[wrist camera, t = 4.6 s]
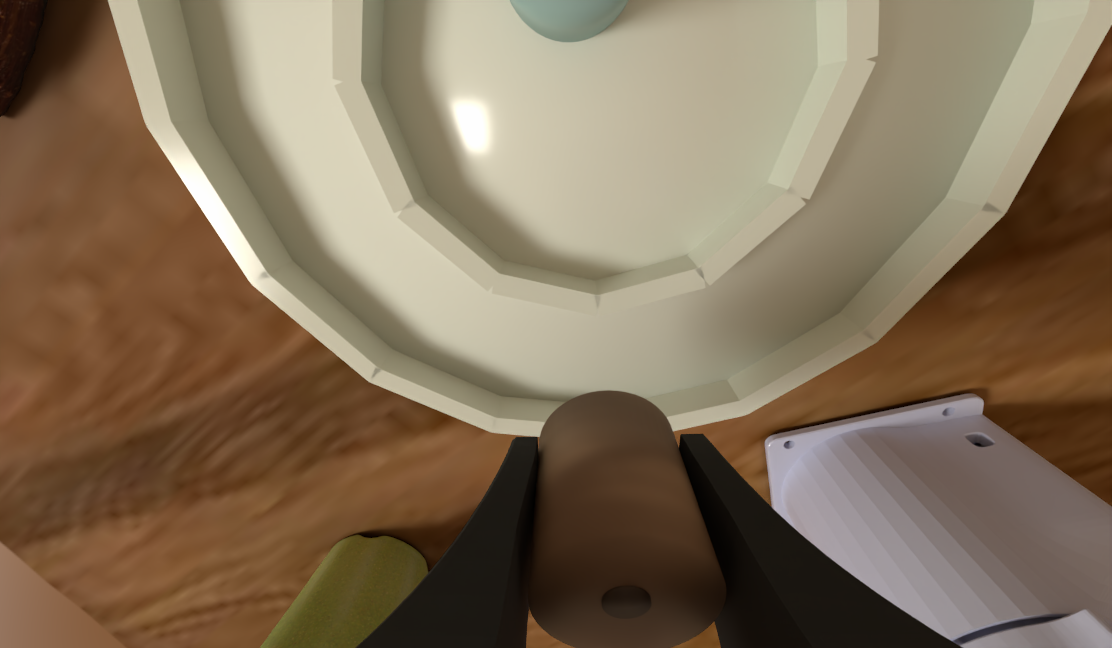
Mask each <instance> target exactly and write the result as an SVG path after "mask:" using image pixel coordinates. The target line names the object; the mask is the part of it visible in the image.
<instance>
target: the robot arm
mask: <svg viewBox="0 0 1112 648" xmlns="http://www.w3.org/2000/svg"><path fill="white" fill-rule="evenodd" d="M983 406H984V400H983V399H982V398H980V397H979V396H977V395H976V394H973V393H968V394H963V395H958V396H953V397H949V398H944V399H939V400H935V401H930V402H925V403H920V404H916V405H911V406H906V407H901V408H897V409H892V410H887V411H883V412H878V413H873V414H868V415H864V416H859V417H854V418H849V419H845V420H840V421H835V422H831V423H826V424H821V425H816V426H812V427H807V428H802V429H797V430H793V431H788V432H783V433H779V434H774V435H771V436H769V437H768V438H767V439H766V441H765V451H766V460H767V468H768V477H769V486H770V494H771V503H772V507H771V506H770V505H769V504H768V503H767V502H766V501H765V500H764V499H763V498H762V497H761V496H760V495H759V494H758V493H757V492H756V491H755V490H754V489H753V488H752V487H751V486H750V485H749V484H748V483H747V482H746V481H745V480H744V479H743V478H742V477H741V476H740V475H739V473H738V472H737V471H736V470H735V469H734V468H733V467H732V466H731V465H730V464H729V463H728V461H727V460H726V459H725V458H724V457H723V456H722V455H721V454H720V453H719V451H718V450H717V449H716V448H715V447H714V446H713V445H712V443H711V442H710V441H709V440H708V439H707V438H706V437H705V436H704V435H703V434H681V436H680V445H679V451H680V453H681V456H682V459H683V462H684V465H685V468H686V471H687V473H688V476H689V479H690V482H691V485H692V488H693V491H694V494H695V496H696V499H697V502H698V505H699V508H700V511H701V514H702V517H703V519H704V522H705V525H706V528H707V531H708V534H709V537H710V540H711V542H712V545H713V548H714V551H715V554H716V557H717V560H718V562H719V565H720V568H721V571H722V574H723V577H724V580H725V583H726V600H725V603H724V606H723V609H722V610H721V612H720V614H719V616H718V617H717V618H716V619H715V625H716V628H717V632H718V636H719V640H720V645H721V648H1112V507H1111V506H1110V505H1109V504H1107V503H1106V502H1104V501H1103V500H1102V499H1100V498H1099V497H1097V496H1096V495H1095V494H1093V493H1092V492H1090V491H1089V490H1088V489H1086V488H1085V487H1083V486H1082V485H1081V484H1079V483H1078V482H1076V481H1075V480H1074V479H1072V478H1071V477H1069V476H1068V475H1067V474H1065V473H1064V472H1062V471H1061V470H1060V469H1058V468H1057V467H1055V466H1054V465H1053V464H1051V463H1050V462H1048V461H1047V460H1046V459H1044V458H1043V457H1041V456H1040V455H1039V454H1037V453H1036V452H1034V451H1033V450H1032V449H1030V448H1029V447H1027V446H1026V445H1025V444H1023V443H1022V442H1020V441H1019V440H1018V439H1016V438H1015V437H1013V436H1012V435H1011V434H1009V433H1008V432H1006V431H1005V430H1004V429H1002V428H1001V427H999V426H998V425H996V424H995V423H994V422H992V421H991V420H989V419H988V418H987V417H985V416H984V415H982V412H983ZM787 441H789V442H788V443H785V442H787ZM538 454H539V453H538V439H537V437H516V438H515V439H514V440H512V443H511V446H510V448H509V450H508V453H507V455H506V457H505V459H504V461H503V463H502V465H501V467H500V469H499V471H498V473H497V475H496V477H495V478H494V480H493V482H492V484H491V485H490V487H489V489H488V491H487V492H486V494H485V496H484V497H483V499H482V501H481V502H480V504H479V505H478V507H477V508H476V510H475V511H474V513H473V514H472V516H471V518H470V519H469V521H468V522H467V524H466V525H465V526H464V528H463V529H462V531H461V532H460V533H459V535H458V536H457V538H456V539H455V540H454V542H453V543H452V544H451V546H450V547H449V548H448V549H447V551H446V552H445V553H444V555H443V556H442V557H441V558H440V560H439V561H438V562H437V563H436V564H435V565H434V567H433V568H432V569H431V570H430V571H429V573H428V574H427V575H426V576H425V577H424V579H423V580H422V581H421V582H420V583H419V584H418V585H417V586H416V588H415V589H414V590H413V591H412V592H411V593H410V594H409V595H408V596H407V597H406V598H405V599H404V600H403V601H402V602H401V603H400V604H399V605H398V607H397V608H396V609H395V610H394V611H393V612H392V613H391V614H390V615H389V616H388V617H387V618H386V619H385V620H384V621H383V622H382V623H381V624H380V625H379V626H378V627H377V628H376V629H375V630H374V631H373V632H372V633H371V634H370V635H369V636H367V637H366V638H365V639H364V640H363V641H362V642H361V643H360V644H359V645H358V646H356V647H355V648H526V635H527V621H528V611H529V604H528V587H529V573H530V559H531V546H532V532H533V519H534V505H535V492H536V481H537V468H538Z"/></svg>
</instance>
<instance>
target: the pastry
mask: <svg viewBox="0 0 1112 648" xmlns="http://www.w3.org/2000/svg"><path fill="white" fill-rule="evenodd" d="M47 2H48V0H0V117H1V116H2V115H3V114H5V112H6V111H7V110H8V108H9V105H10V103H11V102H12V100H13V99H14V98H15V97H16V95H17V93H18V92H19V90H20V89H21V84H22V80H23V76H24V72H25V70H26V68H27V65H28V63H29V61H30V60H31V58H32V56H33V54H34V51H35V44H36V40H37V37H38V34H39V31H40V28H41V25H42V22H43V17H44V11H45V7H46V4H47Z"/></svg>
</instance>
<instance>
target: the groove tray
mask: <svg viewBox="0 0 1112 648" xmlns="http://www.w3.org/2000/svg"><path fill="white" fill-rule="evenodd" d="M108 3H109V6H110V9H111V12H112V16H113V19H114V22H115V26H116V29H117V32H118V35H119V39H120V42H121V45H122V49H123V52H124V55H125V58H126V62H127V65H128V68H129V72H130V75H131V78H132V82H133V85H134V88H135V91H136V95H137V98H138V101H139V105H140V108H141V111H142V114H143V118H144V121H145V124H148V125H146V126H147V128H148V129H149V131H150V132H151V134H152V135H153V137H154V138H155V140H156V141H157V143H158V144H159V146H160V147H161V149H162V150H163V152H164V153H165V155H166V156H167V158H168V159H169V161H170V162H171V164H172V165H173V167H174V168H175V170H176V171H177V173H178V174H179V176H180V177H181V179H182V180H183V182H184V183H185V185H186V186H187V188H188V189H189V191H190V192H191V194H192V196H193V197H194V199H195V200H196V202H197V203H198V205H199V206H200V208H201V209H202V211H203V212H204V214H205V215H206V217H207V218H208V220H209V221H210V223H211V224H212V226H213V227H214V229H215V230H216V232H217V233H218V235H219V236H220V238H221V239H222V241H223V242H224V244H225V245H226V247H227V248H228V250H229V251H230V253H231V254H232V256H233V257H234V259H235V260H236V262H237V263H238V265H239V267H240V268H241V270H242V271H243V273H244V274H245V276H246V277H247V279H248V280H249V282H250V283H252V285H253V286H254V287H255V288H257V289H258V290H259V291H260V292H261V293H263V294H264V295H265V296H266V297H267V298H269V299H270V300H271V301H272V302H273V303H275V304H276V305H277V306H278V307H279V308H281V309H282V310H283V311H284V312H285V313H287V314H288V315H289V316H290V317H291V318H293V319H294V320H295V321H296V322H297V323H299V324H300V325H301V326H302V327H304V328H305V329H306V330H307V331H308V332H310V333H311V334H312V335H313V336H314V337H316V338H317V339H318V340H319V341H320V342H322V343H323V344H324V345H325V346H326V347H328V348H329V349H330V350H331V351H332V352H334V353H335V354H336V355H337V356H338V357H340V358H341V359H342V360H343V361H344V362H346V363H347V364H348V365H349V366H350V367H352V368H353V369H354V370H355V371H356V372H358V373H359V374H360V375H361V376H362V377H364V378H365V379H366V380H367V381H370V383H373V384H375V385H378V386H380V387H383V388H385V389H387V390H390V391H392V392H395V393H397V394H400V395H402V396H404V397H407V398H409V399H412V400H414V401H416V402H419V403H421V404H424V405H426V406H429V407H431V408H433V409H436V410H438V411H441V412H443V413H445V414H448V415H450V416H453V417H455V418H458V419H460V420H462V421H465V422H467V423H470V424H472V425H475V426H477V427H479V428H482V429H484V430H487V431H489V432H491V433H502V434H513V435H525V436H537V437H540V434H541V431H542V428H543V426H544V424H545V422H546V420H547V419H548V418H549V416H550V415H551V414H552V413H553V412H554V411H555V410H556V409H557V408H558V407H559V406H561V405H562V404H564V403H565V402H567V401H569V400H570V399H572V398H575V397H577V396H580V395H583V394H586V393H590V392H595V391H605V390H612V391H622V392H628V393H631V394H635V395H638V396H640V397H643V398H645V399H646V400H648V401H650V402H652V403H653V404H654V405H656V406H657V407H658V408H659V409H660V410H661V411H662V412H663V413H664V415H665V416H666V417H667V419H668V421H669V423H670V425H671V428H672V430H673V431H676V430H681V429H686V428H690V427H695V426H699V425H704V424H708V423H713V422H717V421H722V420H726V419H731V418H736V417H740V416H745V414H746V415H747V414H749V413H751V412H753V411H754V410H756V409H758V408H760V407H762V406H763V405H765V404H767V403H769V402H771V401H772V400H774V399H776V398H778V397H780V396H781V395H783V394H785V393H787V392H789V391H790V390H792V389H794V388H796V387H798V386H799V385H801V384H803V383H805V382H807V381H808V380H810V379H812V378H814V377H816V376H817V375H819V374H821V373H823V372H825V371H826V370H828V369H830V368H832V367H834V366H835V365H837V364H839V363H841V362H843V361H844V360H846V359H848V358H850V357H852V356H853V355H855V354H857V353H859V352H861V351H862V350H864V349H866V348H868V347H870V346H871V345H873V344H875V343H876V342H878V341H879V340H880V339H881V338H882V337H883V336H884V335H885V334H886V333H887V332H888V331H889V330H890V329H891V328H892V327H893V326H894V325H895V324H896V323H897V322H898V321H899V320H900V319H901V318H902V317H903V316H904V315H905V314H906V313H907V312H908V311H909V310H910V309H911V308H912V307H913V306H914V305H915V304H916V303H917V302H918V301H919V300H920V299H921V298H922V297H923V296H924V295H925V294H926V293H927V292H928V291H929V290H930V289H931V288H932V287H933V286H934V285H935V284H936V283H937V282H938V281H939V280H940V279H941V278H942V277H943V276H944V275H945V274H946V273H947V272H948V271H949V270H950V269H951V268H952V267H953V266H954V265H955V264H956V263H957V262H958V261H959V260H960V259H961V258H962V257H963V256H964V255H965V254H966V253H967V252H968V251H969V250H970V249H971V248H972V247H973V246H974V245H975V244H976V243H977V242H978V241H979V240H980V239H981V238H982V237H983V236H984V235H985V234H986V233H987V232H988V231H989V230H990V229H991V228H992V227H993V226H994V225H995V224H996V223H997V222H998V221H999V220H1000V219H1001V218H1002V217H1003V216H1004V215H1005V214H1004V213H1006V212H1007V210H1008V208H1009V207H1010V205H1011V203H1012V201H1013V199H1014V198H1015V196H1016V194H1017V192H1018V191H1019V189H1020V187H1021V185H1022V183H1023V182H1024V180H1025V178H1026V176H1027V175H1028V173H1029V171H1030V169H1031V167H1032V166H1033V164H1034V162H1035V160H1036V159H1037V157H1038V155H1039V153H1040V151H1041V150H1042V148H1043V146H1044V144H1045V143H1046V141H1047V139H1048V137H1049V135H1050V134H1051V132H1052V130H1053V128H1054V127H1055V125H1056V123H1057V121H1058V119H1059V118H1060V116H1061V114H1062V112H1063V110H1064V109H1065V107H1066V105H1067V103H1068V102H1069V100H1070V98H1071V96H1072V94H1073V93H1074V91H1075V89H1076V87H1077V86H1078V84H1079V82H1080V80H1081V78H1082V77H1083V75H1084V73H1085V71H1086V70H1087V68H1088V66H1089V64H1090V62H1091V61H1092V59H1093V57H1094V55H1095V54H1096V52H1097V50H1098V48H1099V46H1100V45H1101V43H1102V41H1103V39H1104V38H1105V36H1106V34H1107V32H1108V30H1109V29H1110V27H1111V25H1112V0H629V1H628V2H627V4H626V6H625V8H624V9H623V11H622V12H621V13H620V15H619V16H618V17H617V18H616V20H615V21H614V22H613V23H612V24H611V25H610V26H608V27H607V28H606V29H605V30H604V31H602V32H600V33H599V34H597V35H596V36H593V37H591V38H589V39H586V40H582V41H578V42H559V41H554V40H551V39H548V38H545V37H544V36H542V35H540V34H538V33H537V32H535V31H534V30H532V29H531V28H530V27H529V26H528V25H527V24H526V23H525V22H524V21H523V20H522V19H521V18H520V17H519V15H518V14H517V13H516V11H515V9H514V8H513V6H512V5H511V2H510V0H108Z"/></svg>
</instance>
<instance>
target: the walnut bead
mask: <svg viewBox="0 0 1112 648" xmlns="http://www.w3.org/2000/svg"><path fill="white" fill-rule="evenodd" d="M538 453H539V454H538V468H537V481H536V492H535V505H534V519H533V532H532V546H531V559H530V573H529V587H528V604H529V609H530V611H531V613H532V616H533V617H534V619H535V620H536V622H537V623H538V624H539V625H540V626H541V627H542V629H543V630H545V631H546V632H547V633H548V634H550V635H551V636H553V637H554V638H556V639H557V640H559V641H561V642H563V643H565V644H567V645H570V646H573V647H575V648H670V647H673V646H676V645H679V644H681V643H683V642H686V641H688V640H690V639H692V638H693V637H695V636H697V635H698V634H700V633H701V632H703V631H704V630H705V629H706V628H708V627H709V626H710V625H711V624H712V623H713V622H714V621H715V619H716V618H717V617H718V616H719V614H720V612H721V610H722V609H723V606H724V603H725V600H726V583H725V580H724V577H723V574H722V571H721V568H720V565H719V562H718V560H717V557H716V554H715V551H714V548H713V545H712V542H711V540H710V537H709V534H708V531H707V528H706V525H705V522H704V519H703V517H702V514H701V511H700V508H699V505H698V502H697V499H696V496H695V494H694V491H693V488H692V485H691V482H690V479H689V476H688V473H687V471H686V468H685V465H684V462H683V459H682V456H681V453H680V451H679V448H678V445H677V442H676V439H675V436H674V433H673V430H672V428H671V425H670V423H669V421H668V419H667V417H666V416H665V415H664V413H663V412H662V411H661V410H660V409H659V408H658V407H657V406H656V405H654V404H653V403H652V402H650V401H648V400H646V399H645V398H643V397H640V396H638V395H635V394H631V393H628V392H622V391H612V390H605V391H595V392H590V393H586V394H583V395H580V396H577V397H575V398H572V399H570V400H569V401H567V402H565V403H564V404H562V405H561V406H559V407H558V408H557V409H556V410H555V411H554V412H553V413H552V414H551V415H550V416H549V418H548V419H547V420H546V422H545V424H544V426H543V428H542V431H541V434H540V439H539V451H538Z"/></svg>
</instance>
